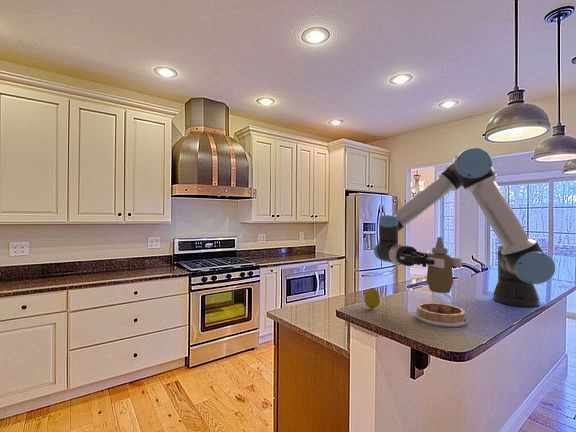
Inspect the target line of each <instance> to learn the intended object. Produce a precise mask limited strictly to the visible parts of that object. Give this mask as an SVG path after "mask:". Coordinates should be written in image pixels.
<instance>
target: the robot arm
mask: <svg viewBox="0 0 576 432" xmlns="http://www.w3.org/2000/svg"><path fill="white" fill-rule="evenodd" d="M496 178H497V172H496V170H495V169H494V167H493V159H492V156H491V155H490V153H489V152H488V151H487V150H485V149H483V148H479V147H470V148H466V149H464V150H462V151H461V152H459V153H457V155H456V157H455V158H454V159H453V160H452V161H451V162H450V164H449V165H448V166H447V167H446V168H445V169H444V170H443V171H441V173H439V174H438V177H437V179H435V180H434V181H433V182H431V184H429V185H427V186H426V188H424V189H422V191H420V192H419V193H418V194H417V195H415V196H413V198H412V199H410V200H409V201H407V202H406V203H405V204H404V205H403V206H402V207H400V208H399V209H397V211H395V212H394V213H393V214H391V215H387V214H384V215H383V214H382V215H380V216H379V218H378V219H379V220H378V221H379V222H378V228H379V229H378V232H379V233H378V237H379V240H378V243H377V244H376V245H375V247H374V249H373V253H374V256H375V258H376V259H378V260H380V261H383V262H387V263H393V264H397V266H406V267H413V266H414V265H418V266H420V265H421V267H423V268H426V267H428V266H433V267H439V268H444V259H438V258H431V257H429V255H431V254H432V253H430V252H428V253H426V252H422V251H417V249H416V248H415V247H414V246H410V245H405V244H399V231H401V230H403V229H404V228H405V227H407V225H409V224H410V223H411V222H413V221H414V220H415V219H416V218H418V217H419V216H420V215H422V214H423V213H424V212H426V211H427V210H428V209H429V208H431V207H432V206H433V205H434V204H436V203H438V202H439V201H440V200H441V199H442V198H444V197H445V196H447V194H449V193H451V192H452V191H453V192H454V191H457V190H458V189H459V188H460V189H461V187H463V189H464V190H466V191H469V192H471V194H472V196H473V197H474V200H475V201H476V203H477V204H478V206H479V208H480V210H481V212H482V213H483V215H484V217H485V219H486V220H487V221H488V224H489V225H490V227H491V229H492V231H493V232H494V234H495V235H496V238H497V239H498V241H499V243H500V244H501V245H498V247H497V282H496V286H495V288H494V292H493V293H492V297H493V298H492V299H493V300H494V302H497V303H501V304H504V305H505V304H506V305H511V306H517V307H527V308H529V307H532V308H533V307H539V306H540V297H539V295H538V293H537V290H536V288H535V285H541V284H544V283H546V282H548V281H550V280H551V279H552V278H553V276H554V275H555V272H556V264H555V261H554V260H553V258H552V257H551V256H550V255H548V253H545V252H544V251H543V250H542V248H541V246H540V244H539V243H538V241H537V240H536V239H531V238H529V235H528V234H527V232H526V231H525V229H524V228H523V225H522V224H521V223H520V221H519V219H518V217H517V216H516V214H515V212H514V211H513V209H512V207H511V206H510V204H509V202H508V200H507V199H506V196H504V194H503V192H502V190H501V188H500V187H499V185H498V183H497V182H496ZM450 257H451V256H450ZM462 259H463V258H459V257H451V265H452V267H456V268H462V267H463V265H462V264H463V263H462V262H463V260H462Z"/></svg>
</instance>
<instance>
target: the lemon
mask: <svg viewBox="0 0 576 432" xmlns="http://www.w3.org/2000/svg"><path fill="white" fill-rule="evenodd" d="M380 302H381V297H380V294H379V292H378V290H377V289H375V288H373V287H371V288H369V289H367V290H366V291H365V293H364V303H365V306H366V307H368V308H370V310H375V309H376V308H378V306H379V305H380Z"/></svg>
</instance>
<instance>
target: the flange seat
mask: <svg viewBox="0 0 576 432" xmlns="http://www.w3.org/2000/svg"><path fill="white" fill-rule="evenodd" d="M415 318H416V320H417V321H419V322H421V323H423V324H426V325H429V326H434V327H440V328H446V329H447V328H448V329H449V328H452V329H455V328H456V329H457V328H458V329H459V328H463V327H465V326H466V325H467V318H466V310H465V309H463V308H462V307H458V306H456V305H452V304H445V303H439V302H437V303H436V302H425V303H419V304H418V305H416V313H415Z"/></svg>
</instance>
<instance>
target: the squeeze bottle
mask: <svg viewBox="0 0 576 432" xmlns="http://www.w3.org/2000/svg"><path fill="white" fill-rule="evenodd" d="M444 245H445V244H444V241H443V238H442V236H441V237H440V236H438V237H437V240H436V244H435V247H431V250H432V251H431V253H430V254H431V255H429V257H431V258H438V259H444V268H439V267H433V266H428V265H427V272H426V282H427V285H428V288H429V291H431V292H434V293H438V294H448V293H450V292H451V289H452V287H453V284H454V277H453V268H452V267H453V266H452V265H451V255H449V254H448V248H447V247H445V246H444Z"/></svg>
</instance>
